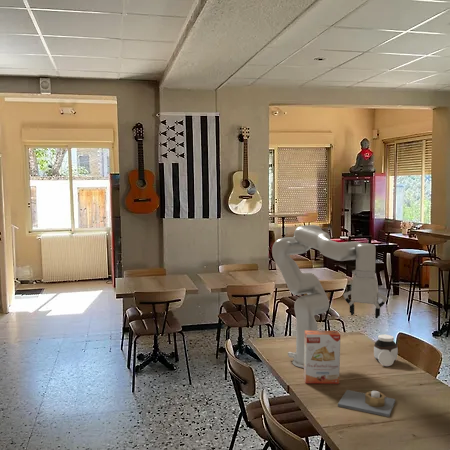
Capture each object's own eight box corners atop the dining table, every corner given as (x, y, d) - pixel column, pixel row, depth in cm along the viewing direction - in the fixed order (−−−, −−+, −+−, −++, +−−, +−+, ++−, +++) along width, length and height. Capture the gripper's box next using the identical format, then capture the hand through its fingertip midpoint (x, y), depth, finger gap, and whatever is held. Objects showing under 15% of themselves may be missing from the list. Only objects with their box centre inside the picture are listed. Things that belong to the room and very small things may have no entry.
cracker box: (305, 384, 194) (306, 334, 193) (303, 378, 200) (303, 329, 199) (340, 384, 194) (340, 334, 192) (336, 378, 200) (337, 329, 198)
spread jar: (389, 357, 226) (389, 333, 226) (405, 365, 216) (405, 340, 215) (367, 360, 223) (368, 335, 222) (382, 368, 212) (383, 342, 211)
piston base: (337, 406, 174) (338, 393, 173) (347, 392, 186) (347, 379, 186) (389, 417, 165) (389, 403, 165) (395, 401, 177) (395, 388, 177)
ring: (364, 404, 173) (364, 396, 172) (367, 397, 178) (367, 390, 178) (382, 408, 170) (383, 400, 169) (386, 401, 175) (386, 393, 175)
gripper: (341, 273, 192) (340, 315, 193) (386, 277, 184) (385, 320, 185) (346, 271, 198) (345, 311, 199) (389, 274, 190) (388, 316, 191)
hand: (364, 316), depth 192 cm, fingers open, 9 cm apart
